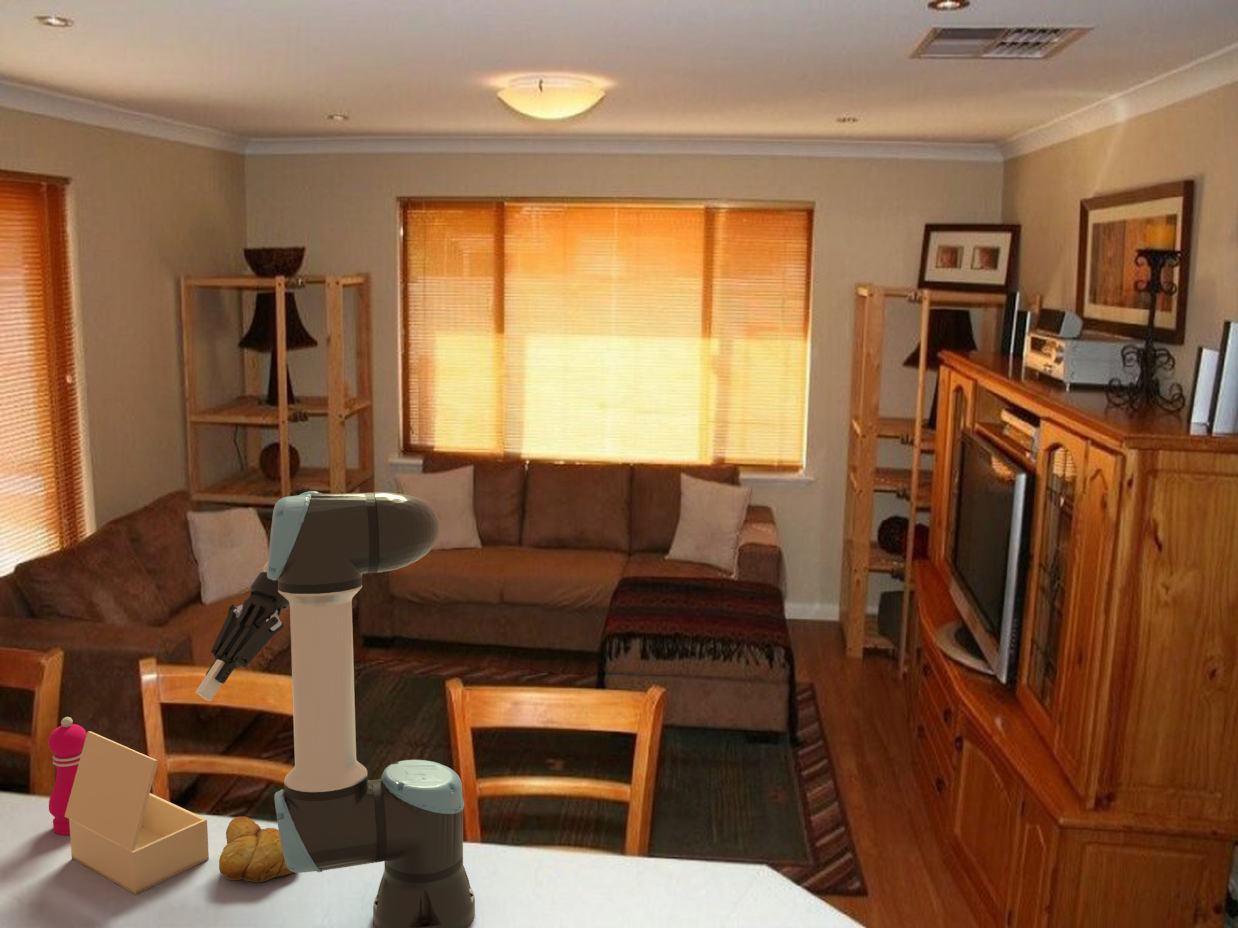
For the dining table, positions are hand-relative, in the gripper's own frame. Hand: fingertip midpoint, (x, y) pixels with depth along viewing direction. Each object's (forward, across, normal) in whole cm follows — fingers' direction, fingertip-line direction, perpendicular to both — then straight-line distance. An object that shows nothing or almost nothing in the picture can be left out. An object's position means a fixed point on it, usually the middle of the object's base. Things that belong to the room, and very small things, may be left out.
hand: (202, 696), depth 185 cm
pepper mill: (+27, +19, -8) cm, 33 cm away
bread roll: (+20, -19, -14) cm, 31 cm away
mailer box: (+26, 0, -8) cm, 27 cm away
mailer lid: (+19, 0, +5) cm, 20 cm away
